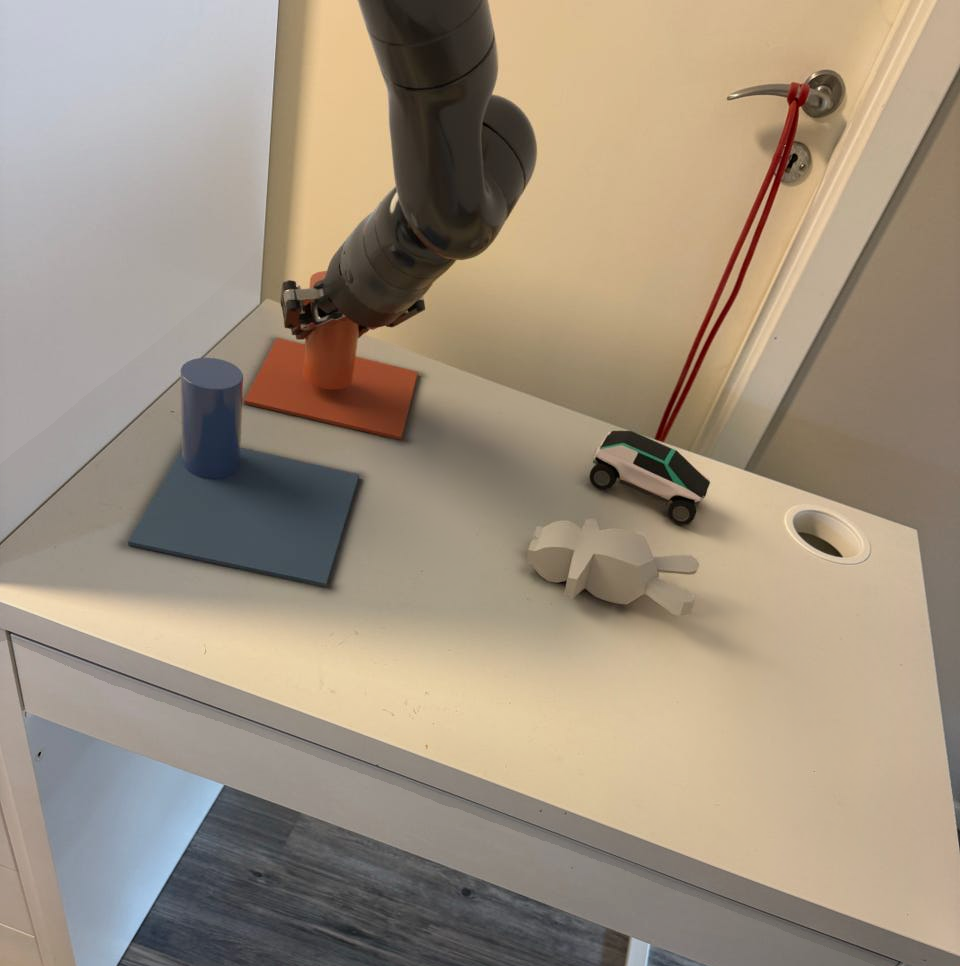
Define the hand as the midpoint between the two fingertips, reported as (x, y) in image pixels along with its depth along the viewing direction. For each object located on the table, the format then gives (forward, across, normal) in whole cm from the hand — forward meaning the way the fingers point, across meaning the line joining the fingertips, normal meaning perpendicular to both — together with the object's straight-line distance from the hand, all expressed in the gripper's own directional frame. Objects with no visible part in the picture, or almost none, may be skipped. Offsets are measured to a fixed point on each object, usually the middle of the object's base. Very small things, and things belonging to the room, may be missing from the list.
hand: (325, 329), depth 89 cm
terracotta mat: (+3, -1, +5) cm, 6 cm away
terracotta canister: (+2, 0, +4) cm, 5 cm away
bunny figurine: (-21, -15, +30) cm, 39 cm away
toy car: (-12, -27, +21) cm, 37 cm away
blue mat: (-10, +13, +18) cm, 24 cm away
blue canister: (-5, +15, +13) cm, 21 cm away
